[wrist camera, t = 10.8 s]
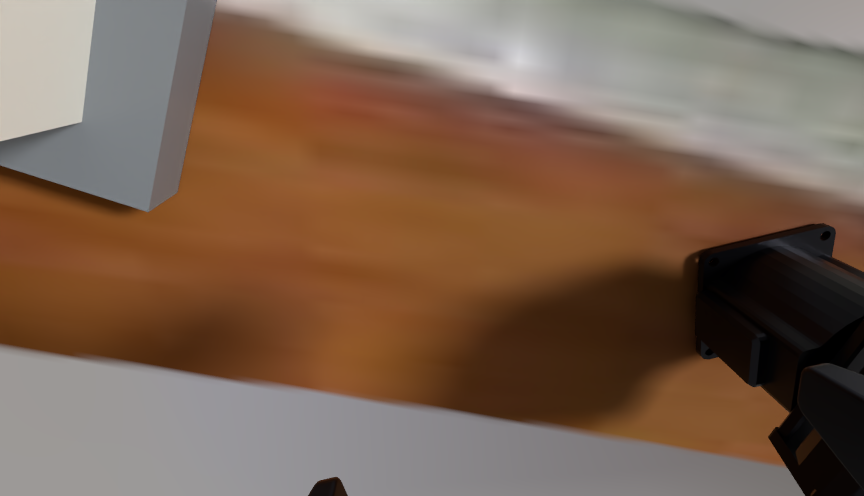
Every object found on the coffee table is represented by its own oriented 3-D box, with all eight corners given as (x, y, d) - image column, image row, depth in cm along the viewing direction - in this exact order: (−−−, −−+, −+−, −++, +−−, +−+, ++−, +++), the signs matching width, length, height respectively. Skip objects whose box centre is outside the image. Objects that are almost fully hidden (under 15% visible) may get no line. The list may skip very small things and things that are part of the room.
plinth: (230, -69, 16) (203, -89, 13) (177, 192, 19) (148, 212, 17) (-115, -230, 13) (-219, -287, 11) (-105, 99, 17) (-183, 107, 14)
